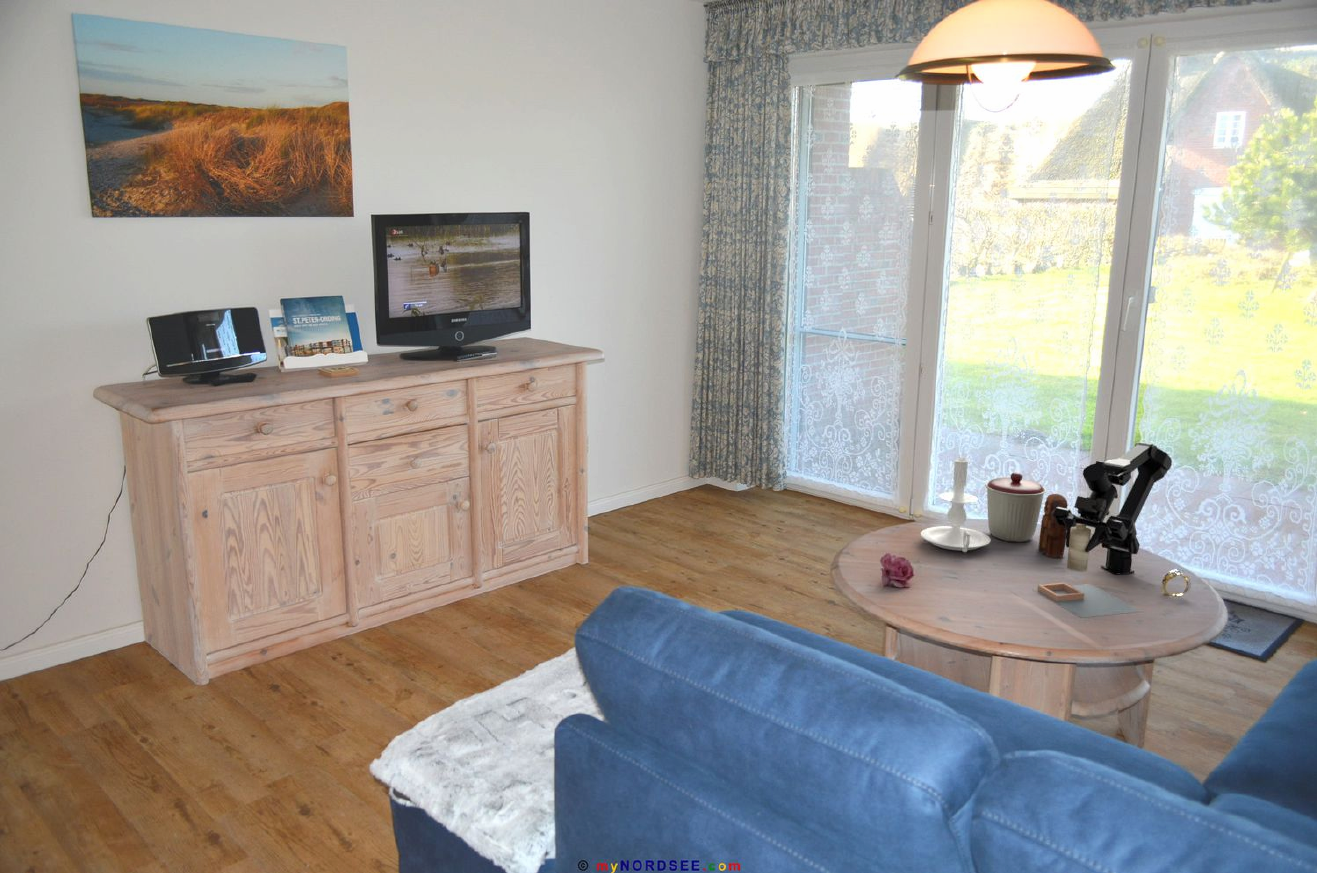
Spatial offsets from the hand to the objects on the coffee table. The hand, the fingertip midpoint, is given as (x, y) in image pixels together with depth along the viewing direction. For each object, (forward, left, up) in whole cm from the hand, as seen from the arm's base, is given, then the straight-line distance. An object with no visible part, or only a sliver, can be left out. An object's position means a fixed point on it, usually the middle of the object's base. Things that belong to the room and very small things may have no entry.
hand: (1076, 549), depth 265 cm
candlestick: (-40, -11, -12) cm, 43 cm away
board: (+8, -2, -12) cm, 15 cm away
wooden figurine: (-30, +15, -12) cm, 36 cm away
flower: (-17, -43, -12) cm, 48 cm away
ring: (+10, +24, -12) cm, 29 cm away
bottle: (-1, +1, -6) cm, 6 cm away
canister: (-46, +12, -12) cm, 49 cm away
